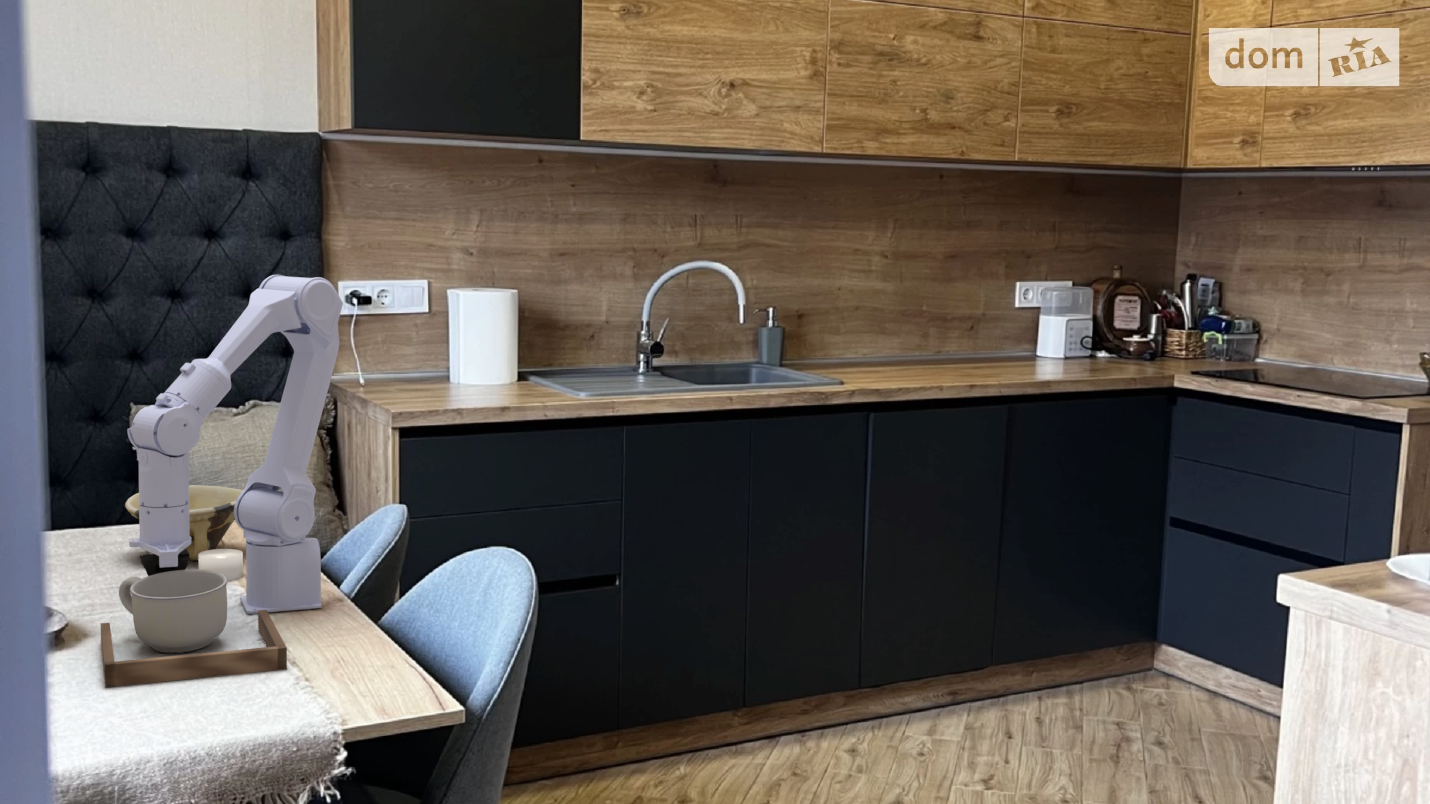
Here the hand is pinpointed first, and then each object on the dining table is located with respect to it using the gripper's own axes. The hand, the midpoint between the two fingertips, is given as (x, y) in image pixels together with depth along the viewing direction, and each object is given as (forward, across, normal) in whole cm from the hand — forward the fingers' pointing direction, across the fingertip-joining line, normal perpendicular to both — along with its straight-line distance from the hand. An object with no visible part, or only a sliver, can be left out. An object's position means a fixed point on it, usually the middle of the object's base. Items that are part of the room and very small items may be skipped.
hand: (165, 611), depth 168 cm
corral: (+2, +12, +2) cm, 12 cm away
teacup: (+3, +6, 0) cm, 7 cm away
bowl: (+3, -40, +6) cm, 40 cm away
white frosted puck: (+3, -26, +9) cm, 27 cm away
